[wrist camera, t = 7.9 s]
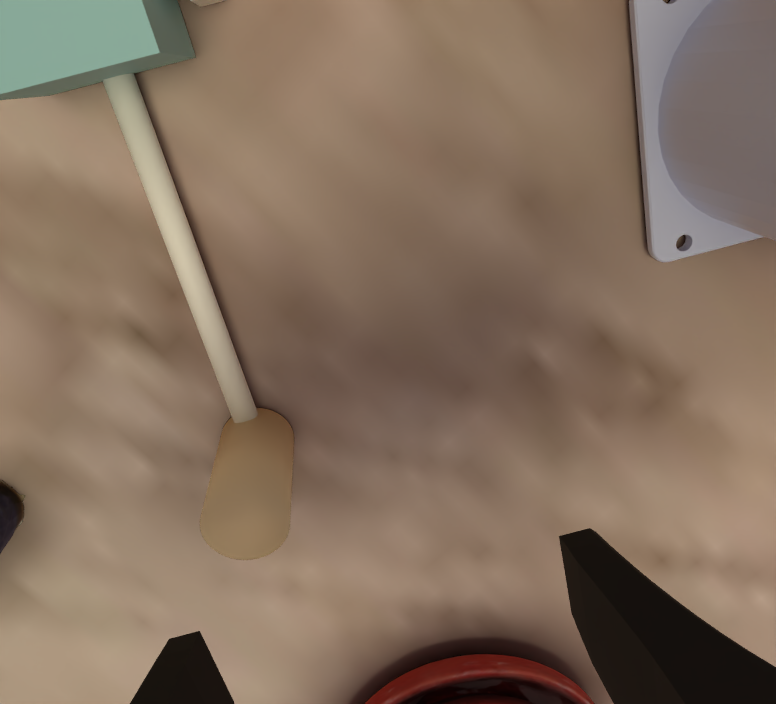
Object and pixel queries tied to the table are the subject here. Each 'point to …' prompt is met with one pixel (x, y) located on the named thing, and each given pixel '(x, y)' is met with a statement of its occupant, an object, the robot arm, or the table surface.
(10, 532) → the flask
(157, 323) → the table surface
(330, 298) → the table surface
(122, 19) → the toy mallet
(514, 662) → the plant pot
